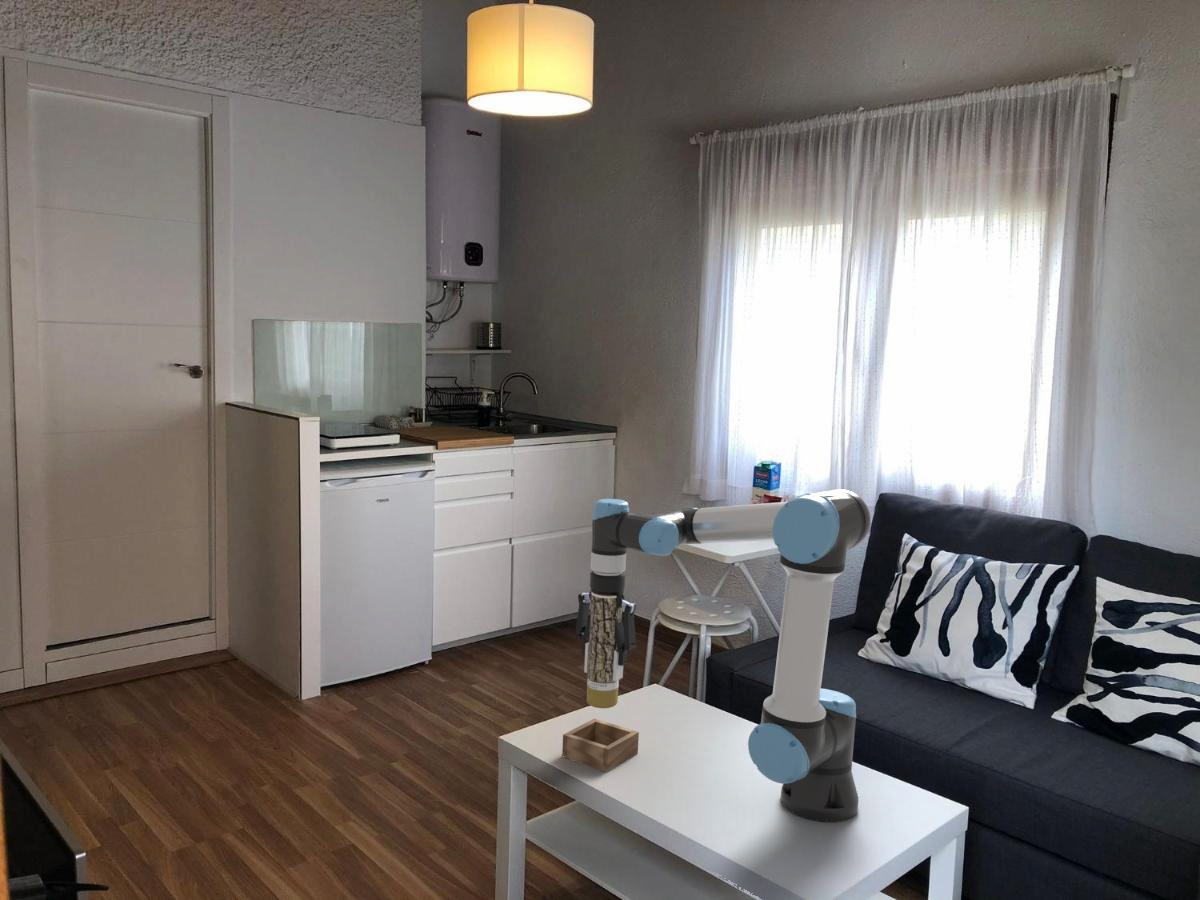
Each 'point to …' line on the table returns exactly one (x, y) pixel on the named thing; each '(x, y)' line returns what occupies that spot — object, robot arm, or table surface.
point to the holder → (600, 744)
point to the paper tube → (602, 650)
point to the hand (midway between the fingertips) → (603, 674)
